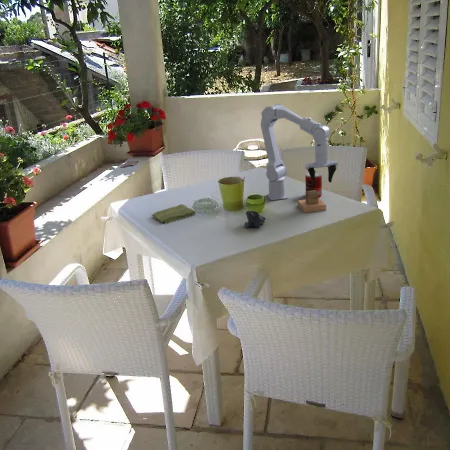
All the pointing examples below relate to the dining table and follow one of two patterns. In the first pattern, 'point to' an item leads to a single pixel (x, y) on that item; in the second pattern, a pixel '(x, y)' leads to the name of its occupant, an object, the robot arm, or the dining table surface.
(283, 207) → the dining table surface
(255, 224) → the frog
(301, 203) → the terracotta tile
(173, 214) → the washcloth
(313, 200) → the walnut block
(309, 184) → the canned food
